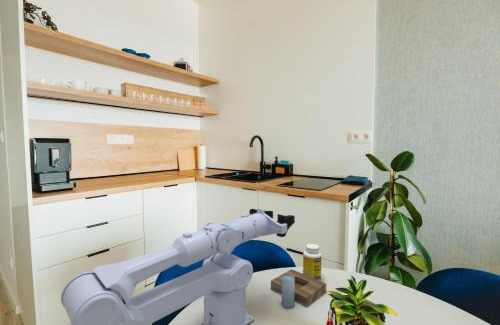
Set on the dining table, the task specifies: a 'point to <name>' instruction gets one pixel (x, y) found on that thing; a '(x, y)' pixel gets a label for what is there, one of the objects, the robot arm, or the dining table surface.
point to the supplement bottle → (312, 261)
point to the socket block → (301, 287)
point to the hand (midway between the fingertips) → (282, 216)
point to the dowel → (288, 291)
